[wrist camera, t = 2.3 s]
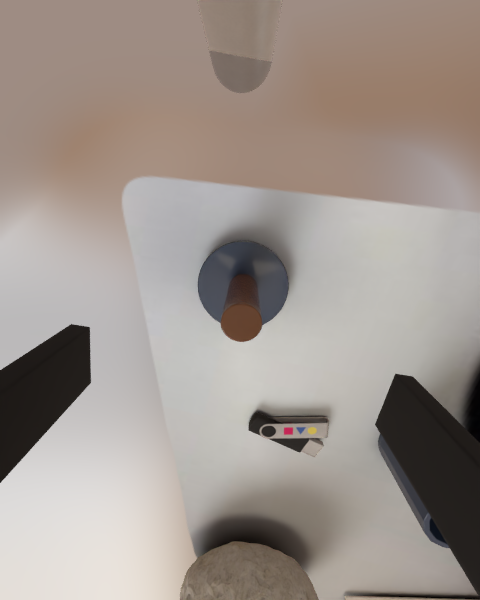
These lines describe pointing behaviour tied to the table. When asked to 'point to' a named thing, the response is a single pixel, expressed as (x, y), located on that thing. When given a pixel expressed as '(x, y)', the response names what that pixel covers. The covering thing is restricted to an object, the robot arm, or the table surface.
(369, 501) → the table surface
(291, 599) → the decorative shell
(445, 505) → the robot arm
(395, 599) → the z bracket
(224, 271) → the lid
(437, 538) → the tin
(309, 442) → the usb flash drive
